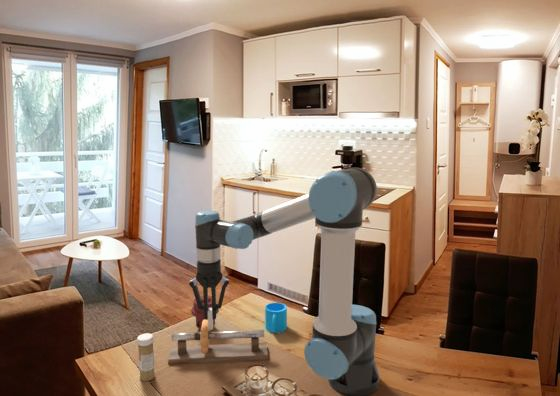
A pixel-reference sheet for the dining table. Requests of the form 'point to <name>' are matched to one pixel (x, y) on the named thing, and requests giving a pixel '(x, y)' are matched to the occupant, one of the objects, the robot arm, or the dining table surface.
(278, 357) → the dining table surface
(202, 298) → the mechanical component
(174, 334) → the rod
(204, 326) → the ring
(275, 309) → the mug
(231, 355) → the stand
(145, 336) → the sprinkles bottle
